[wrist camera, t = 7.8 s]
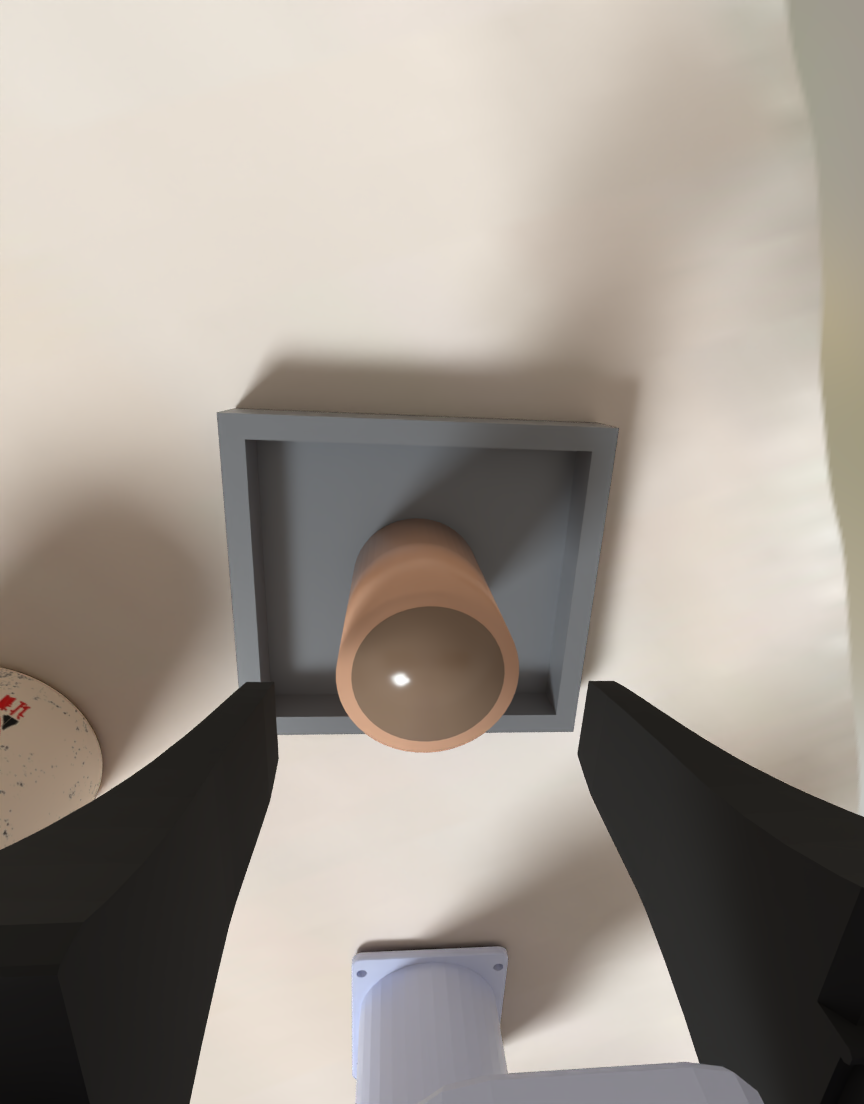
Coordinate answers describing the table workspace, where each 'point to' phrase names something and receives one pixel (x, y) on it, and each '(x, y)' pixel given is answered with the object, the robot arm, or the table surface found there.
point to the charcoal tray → (397, 494)
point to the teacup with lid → (42, 757)
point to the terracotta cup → (423, 641)
